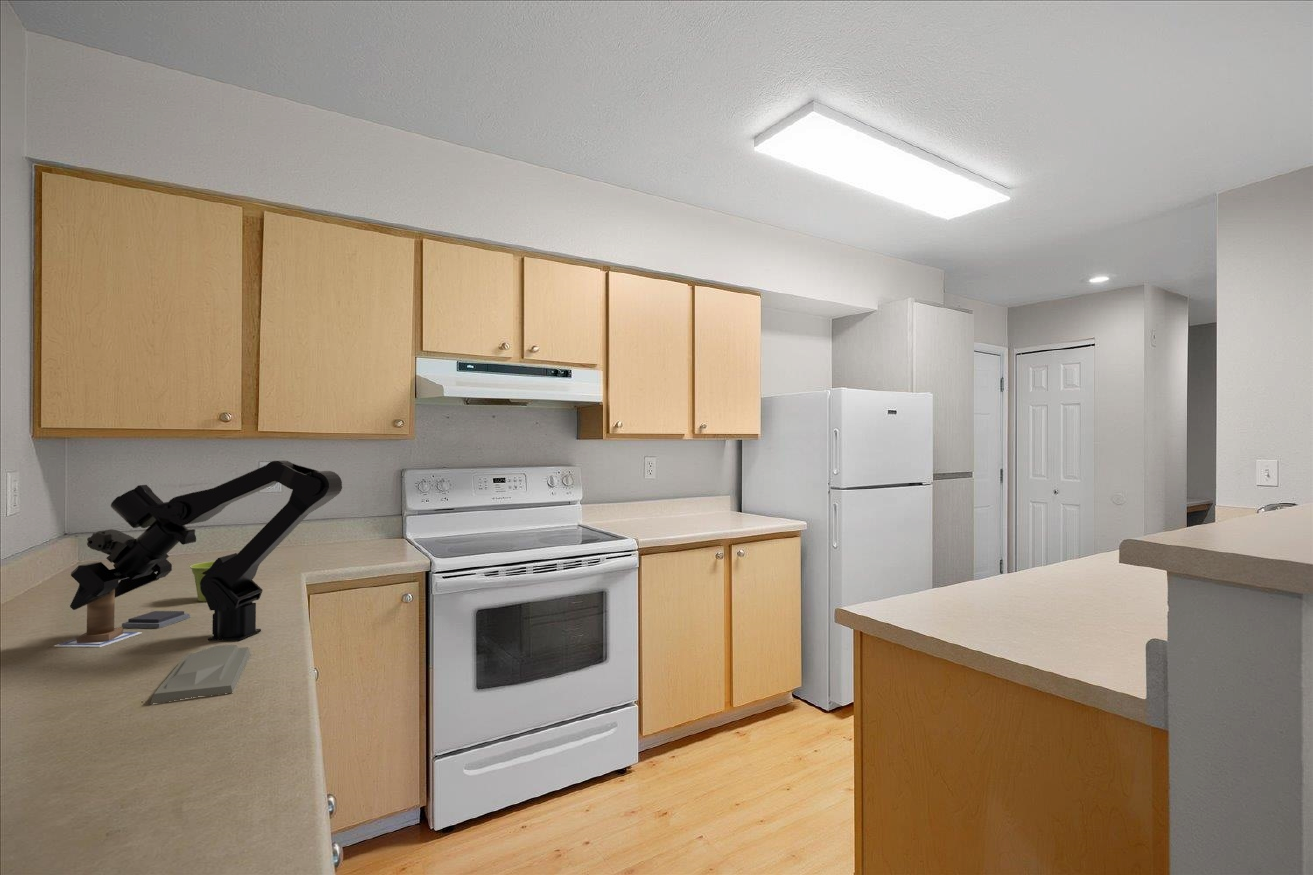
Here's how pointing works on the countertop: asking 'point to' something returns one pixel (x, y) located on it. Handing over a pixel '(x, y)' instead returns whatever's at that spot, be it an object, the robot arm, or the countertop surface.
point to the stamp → (101, 621)
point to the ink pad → (156, 619)
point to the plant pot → (200, 576)
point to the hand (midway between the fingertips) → (92, 602)
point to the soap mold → (204, 674)
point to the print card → (97, 644)
